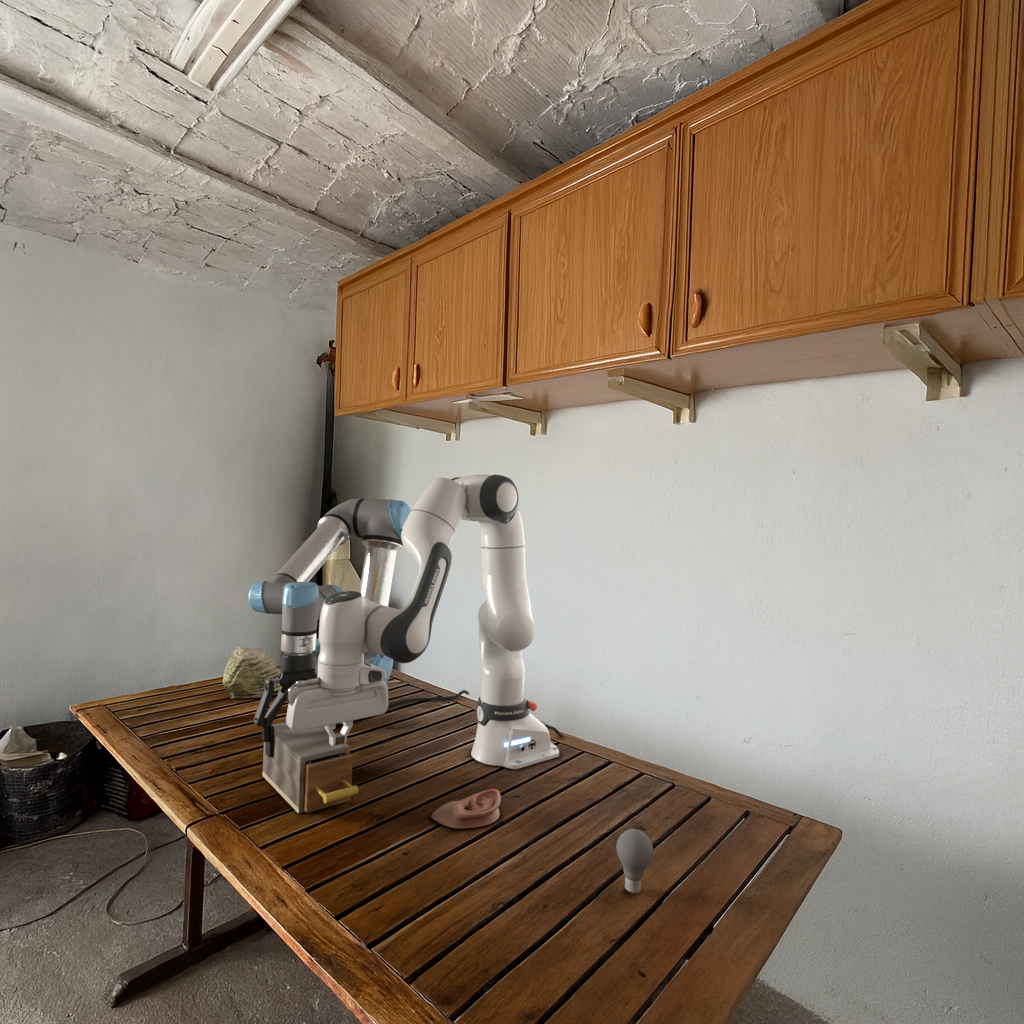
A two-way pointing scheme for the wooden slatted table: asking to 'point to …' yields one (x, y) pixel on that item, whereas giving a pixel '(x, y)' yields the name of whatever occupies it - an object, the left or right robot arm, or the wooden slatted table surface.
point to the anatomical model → (470, 811)
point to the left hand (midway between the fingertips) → (294, 749)
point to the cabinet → (296, 760)
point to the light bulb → (634, 857)
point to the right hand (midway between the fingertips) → (337, 743)
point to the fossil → (249, 673)
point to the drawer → (328, 781)
